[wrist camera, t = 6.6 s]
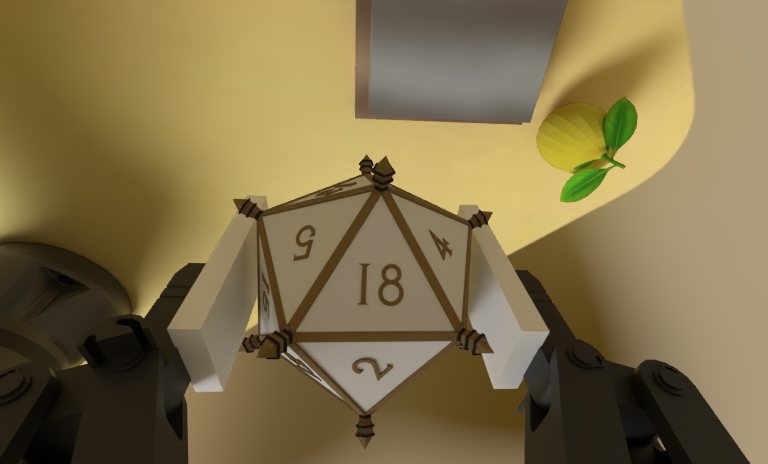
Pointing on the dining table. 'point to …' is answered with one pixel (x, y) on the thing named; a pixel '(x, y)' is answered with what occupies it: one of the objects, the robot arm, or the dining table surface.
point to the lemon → (585, 143)
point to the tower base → (453, 58)
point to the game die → (362, 287)
